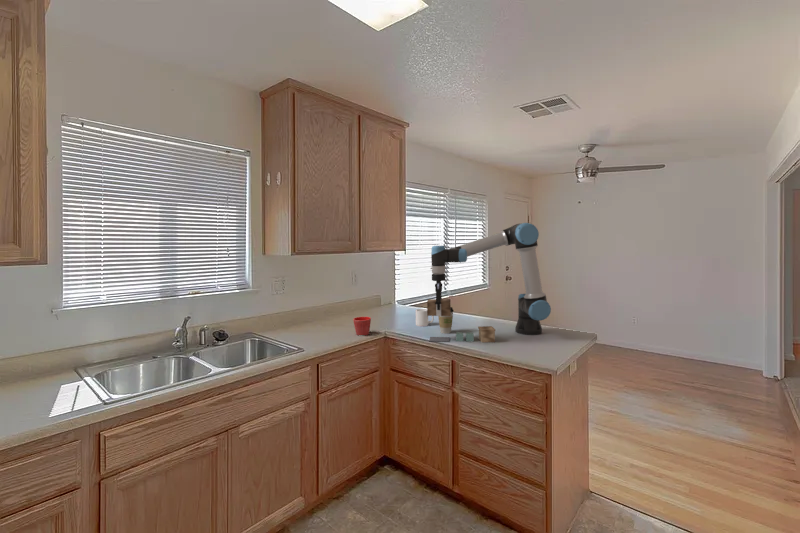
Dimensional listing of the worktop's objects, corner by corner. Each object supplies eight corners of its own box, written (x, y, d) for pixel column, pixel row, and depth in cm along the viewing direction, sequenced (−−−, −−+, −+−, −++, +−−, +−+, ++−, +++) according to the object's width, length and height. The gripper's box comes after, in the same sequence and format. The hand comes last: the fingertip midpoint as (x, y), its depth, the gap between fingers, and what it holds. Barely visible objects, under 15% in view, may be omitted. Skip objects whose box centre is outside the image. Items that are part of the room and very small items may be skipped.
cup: (417, 323, 257) (417, 308, 256) (435, 324, 253) (434, 309, 252) (414, 326, 249) (414, 311, 248) (432, 327, 245) (432, 311, 244)
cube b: (463, 339, 215) (463, 332, 215) (463, 341, 211) (463, 334, 211) (456, 339, 215) (456, 332, 215) (456, 341, 212) (455, 334, 211)
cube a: (473, 339, 214) (473, 332, 214) (473, 341, 210) (473, 334, 210) (466, 339, 215) (466, 332, 214) (466, 341, 211) (466, 334, 210)
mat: (449, 337, 218) (449, 337, 218) (449, 342, 210) (449, 341, 210) (430, 337, 220) (430, 336, 220) (429, 341, 211) (429, 341, 211)
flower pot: (354, 337, 225) (354, 320, 225) (353, 332, 236) (352, 317, 235) (372, 335, 227) (372, 319, 227) (370, 331, 238) (369, 316, 237)
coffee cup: (453, 334, 225) (453, 309, 224) (436, 334, 227) (436, 309, 226) (454, 330, 235) (454, 306, 234) (438, 330, 237) (438, 306, 236)
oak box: (491, 338, 215) (491, 326, 214) (495, 342, 207) (495, 329, 207) (478, 338, 215) (478, 326, 214) (481, 342, 207) (481, 329, 207)
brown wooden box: (450, 313, 217) (450, 297, 216) (450, 315, 209) (450, 299, 208) (428, 313, 218) (428, 297, 218) (427, 315, 211) (427, 299, 210)
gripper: (432, 271, 223) (433, 310, 224) (430, 275, 203) (431, 317, 204) (445, 271, 222) (446, 310, 223) (444, 275, 201) (445, 317, 203)
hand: (439, 314), depth 214 cm, fingers closed on brown wooden box, 8 cm apart
